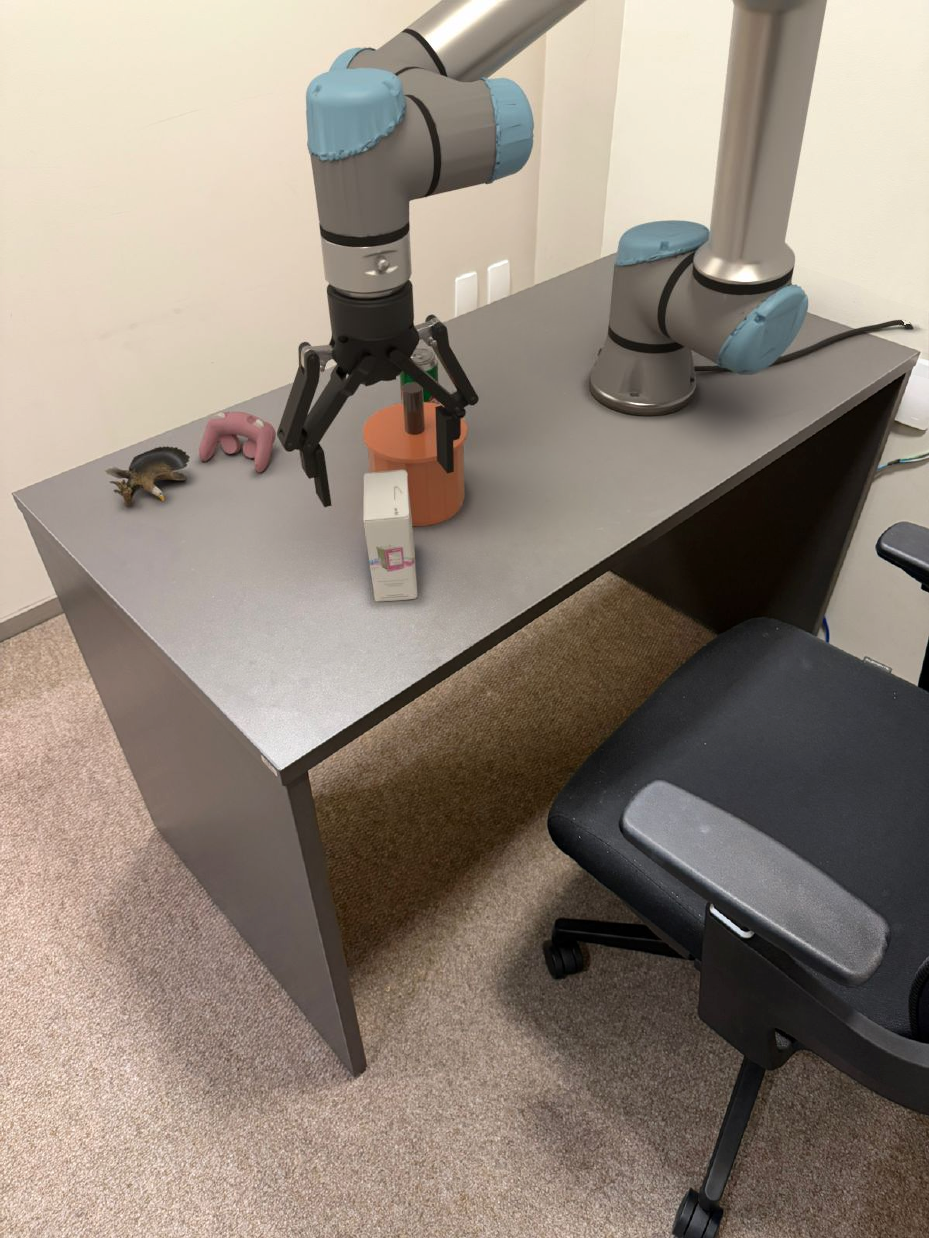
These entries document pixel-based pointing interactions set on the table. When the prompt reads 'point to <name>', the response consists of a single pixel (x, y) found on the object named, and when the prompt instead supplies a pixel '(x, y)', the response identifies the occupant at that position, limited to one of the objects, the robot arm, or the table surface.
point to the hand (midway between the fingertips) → (386, 482)
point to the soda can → (429, 364)
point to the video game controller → (226, 431)
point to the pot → (429, 487)
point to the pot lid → (407, 429)
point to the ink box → (389, 535)
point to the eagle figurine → (149, 471)
